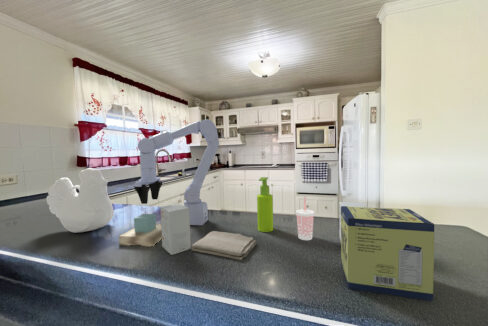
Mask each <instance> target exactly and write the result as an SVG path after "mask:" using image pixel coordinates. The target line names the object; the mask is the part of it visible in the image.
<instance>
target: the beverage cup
mask: <svg viewBox="0 0 488 326" xmlns="http://www.w3.org/2000/svg"><path fill="white" fill-rule="evenodd" d="M306 201H307V200H306V196H304V197H303V206H304V207H303V208H304V209H303V208H301V209H300V208H299V209H297V210H296V211H295V215H296V222H297V223H296V224H297V226H296V227H297V236H298V237H297V238H298V239H300V240H301V241H310V240H313V231H314V216H315V211H314V210H311V209H306V208H307V207H306V204H307V203H306Z"/></svg>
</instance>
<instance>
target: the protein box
mask: <svg viewBox="0 0 488 326" xmlns="http://www.w3.org/2000/svg"><path fill="white" fill-rule="evenodd" d="M340 246H341V249H340V250H341V251H340V255H341V256H340V260H341V261H340V264H341V267H342V268H341V269H342V273H343V275H344V279H345V283H346V287H347V289H348V290H357V291H362V292H370V293H377V294H382V295H388V296H389V295H390V296H395V297H403V298H408V299H414V300H415V299H417V300H423V301H429V302H433V301H434V269H435V268H434V267H435V223H433V222H431V221H430V220H428V219H426V218H425V217H424V216H421V215H420V214H419V213H416V212H415V211H413V210H411V209H410V208H391V207H389V208H388V207H371V206H370V207H368V206H366V207H349V206H341V241H340Z"/></svg>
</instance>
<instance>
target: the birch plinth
mask: <svg viewBox="0 0 488 326" xmlns="http://www.w3.org/2000/svg"><path fill="white" fill-rule="evenodd" d="M161 239H162V229H161V224H160V223H159V224H157V223H156V228H155V229H153V230H152V231H150V232H149V233H135V228H134V227H133V228H131V229H130V230H128V231H126V232H124V233H122V234H120V235H119V236H118V244H119V246H130V245H141V246H140V247H151V246H153V247H155V246H156V245H157V244H158V243H160V242H161V241H162V240H161ZM160 240H161V241H160ZM159 241H160V242H159ZM157 242H158V243H157ZM156 243H157V244H156ZM155 244H156V245H155Z"/></svg>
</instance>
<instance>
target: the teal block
mask: <svg viewBox="0 0 488 326" xmlns="http://www.w3.org/2000/svg"><path fill="white" fill-rule="evenodd" d="M156 216H157V215H156V213H142V214H140V215H138V216H135V217H134V218H133V223H134V224H133V225H134V227H133V228H135V233H149V232H150V231H152V230H153V229H155V228H156V224H157V217H156Z"/></svg>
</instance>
